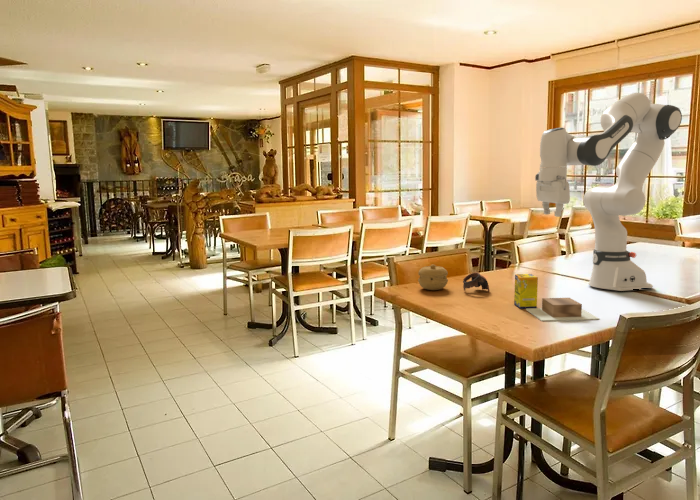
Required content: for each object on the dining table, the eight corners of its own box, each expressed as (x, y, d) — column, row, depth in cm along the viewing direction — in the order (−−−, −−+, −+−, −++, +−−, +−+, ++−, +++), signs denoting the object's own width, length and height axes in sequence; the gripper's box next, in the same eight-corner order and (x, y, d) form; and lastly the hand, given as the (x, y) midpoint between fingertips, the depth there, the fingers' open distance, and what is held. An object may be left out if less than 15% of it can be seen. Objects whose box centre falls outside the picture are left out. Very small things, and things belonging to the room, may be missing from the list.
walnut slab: (568, 309, 174) (569, 297, 173) (581, 316, 165) (581, 304, 165) (541, 310, 174) (542, 298, 173) (552, 317, 165) (553, 305, 164)
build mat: (578, 308, 177) (578, 307, 177) (599, 319, 163) (599, 318, 163) (525, 309, 176) (525, 308, 176) (541, 321, 162) (541, 320, 162)
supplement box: (513, 304, 183) (514, 274, 182) (530, 304, 183) (531, 273, 182) (519, 309, 177) (520, 277, 176) (537, 308, 177) (538, 276, 176)
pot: (453, 290, 206) (453, 265, 205) (425, 293, 203) (425, 268, 202) (439, 285, 218) (439, 261, 216) (413, 287, 214) (413, 263, 213)
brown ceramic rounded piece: (492, 294, 199) (483, 276, 197) (469, 304, 202) (460, 286, 200) (489, 281, 210) (480, 264, 208) (467, 291, 213) (458, 274, 211)
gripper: (575, 175, 172) (574, 217, 174) (550, 175, 193) (549, 212, 195) (556, 176, 172) (555, 218, 174) (533, 175, 192) (532, 213, 194)
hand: (552, 215), depth 185 cm, fingers open, 8 cm apart
